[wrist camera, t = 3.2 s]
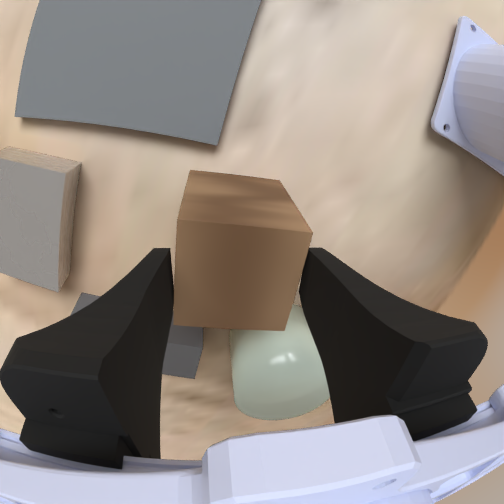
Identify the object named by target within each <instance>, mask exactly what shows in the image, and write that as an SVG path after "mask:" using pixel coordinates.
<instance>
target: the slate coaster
mask: <svg viewBox="0 0 504 504" xmlns="http://www.w3.org/2000/svg"><path fill="white" fill-rule="evenodd" d="M260 2H261V0H40V1H39V4H38V7H37V10H36V13H35V17H34V20H33V24H32V27H31V31H30V35H29V39H28V43H27V47H26V51H25V56H24V60H23V65H22V70H21V76H20V82H19V88H18V94H17V102H16V110H15V117H27V118H41V119H53V120H64V121H73V122H82V123H91V124H98V125H106V126H113V127H120V128H127V129H133V130H139V131H145V132H151V133H157V134H162V135H168V136H173V137H178V138H184V139H189V140H193V141H198V142H203V143H208V144H212V145H218V141H219V137H220V133H221V130H222V126H223V122H224V119H225V115H226V111H227V108H228V104H229V101H230V97H231V94H232V90H233V87H234V84H235V80H236V77H237V73H238V70H239V67H240V64H241V60H242V57H243V54H244V51H245V47H246V44H247V41H248V38H249V35H250V32H251V29H252V26H253V23H254V20H255V17H256V14H257V11H258V8H259V5H260Z"/></svg>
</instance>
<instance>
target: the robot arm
mask: <svg viewBox="0 0 504 504" xmlns="http://www.w3.org/2000/svg"><path fill="white" fill-rule="evenodd" d="M470 26H471V28H472V30H471V28H470ZM444 125H446V129H445V130H444V129H443V127H444ZM431 127H432V129H433V130H434V131H435V132H437V133H439V134H440V135H442V136H444V137H445V138H447V139H449V140H450V141H452V142H454V143H455V144H457V145H459V146H460V147H462V148H463V149H465V150H466V151H468V152H469V153H471V154H473V155H474V156H476V157H477V158H479V159H480V160H481V161H483V162H484V163H486V164H487V165H489V166H490V167H492V168H493V169H494V170H496V171H497V172H499V173H500V174H501V175H503V176H504V45H499V44H498V43H496V42H495V41H494V40H493V39H492V38H491V37H490V36H489V35H488V34H487V33H486V32H485V31H483V30H482V29H481V28H480V27H479V26H478V25H477V24H475V23H474V22H473V21H472V20H471V19H469V18H468V17H466V16H462V17H459V19H458V24H457V28H456V33H455V37H454V42H453V46H452V50H451V54H450V58H449V62H448V66H447V69H446V73H445V77H444V80H443V84H442V87H441V90H440V94H439V97H438V100H437V104H436V107H435V110H434V113H433V116H432V119H431ZM299 295H300V300H301V304H302V308H303V313H304V316H305V319H306V321H307V324H308V327H309V329H310V332H311V334H312V337H313V340H314V342H315V345H316V348H317V350H318V353H319V356H320V358H321V361H322V365H323V368H324V372H325V376H326V380H327V385H328V389H329V394H330V399H331V404H332V409H333V415H334V422H335V424H329V425H323V426H316V427H309V428H301V429H293V430H283V431H273V432H260V433H253V434H247V435H241V436H234V437H230V438H227V439H225V440H223V441H220V442H218V443H216V444H213V445H212V446H210V447H209V448H208V449H207V450H206V452H205V454H204V456H203V458H202V460H167V459H161V457H160V399H161V380H162V369H163V362H164V357H165V352H166V347H167V342H168V337H169V332H170V327H171V322H172V317H173V305H174V285H173V275H172V264H171V253H170V248H154V249H153V250H152V251H151V252H150V253H149V254H148V255H147V256H146V257H145V258H144V259H143V260H142V261H141V262H140V263H139V264H138V265H137V266H136V267H135V268H134V269H133V270H131V271H130V272H129V273H128V274H127V275H126V276H125V277H124V278H123V279H122V280H120V281H119V282H118V283H117V284H116V285H115V286H114V287H113V288H111V289H110V290H109V291H108V292H106V293H105V294H104V295H102V296H101V297H99V298H98V299H97V300H95V301H94V302H92V303H91V304H89V305H88V306H86V307H84V308H83V309H81V310H79V311H77V312H76V313H74V314H72V315H71V316H69V317H67V318H65V319H63V320H61V321H59V322H57V323H55V324H52V325H50V326H48V327H46V328H43V329H41V330H38V331H35V332H33V333H30V334H27V335H24V336H21V337H18V338H17V339H16V340H15V342H14V344H13V346H12V348H11V350H10V352H9V354H8V356H7V358H6V360H5V362H4V364H3V366H2V368H1V370H0V381H1V384H2V387H3V388H4V390H5V392H6V393H7V395H8V396H9V398H10V399H11V400H12V401H13V403H14V404H15V405H16V407H17V408H18V409H19V410H20V412H21V413H22V414H23V415H24V417H25V418H26V419H25V422H24V425H23V429H22V432H21V435H20V434H17V433H14V432H10V431H7V430H4V429H1V428H0V504H433V503H435V502H437V501H439V500H441V499H443V498H445V497H447V496H449V495H451V494H453V493H455V492H456V491H458V490H460V489H462V488H464V487H465V486H467V485H469V484H471V483H472V482H474V481H476V480H477V479H479V478H481V477H482V476H484V475H486V474H487V473H489V472H490V471H492V470H493V469H495V468H497V467H498V466H500V465H501V464H503V463H504V384H503V385H501V386H500V387H499V388H498V389H497V390H496V391H495V392H494V393H493V394H492V395H491V397H490V399H489V400H488V401H486V402H484V403H481V404H479V405H477V406H475V404H474V403H473V401H472V400H471V397H470V396H469V394H468V393H469V392H470V391H471V390H472V387H471V385H470V384H469V382H468V379H469V378H470V377H471V376H472V374H473V373H474V371H475V370H476V368H477V367H478V365H479V364H480V362H481V361H482V359H483V357H484V355H485V353H486V350H487V346H488V345H487V344H488V342H487V338H486V337H485V335H484V334H483V333H482V331H481V330H480V329H479V328H478V326H477V325H476V324H475V323H474V322H470V321H466V320H461V319H457V318H453V317H448V316H446V315H442V314H439V313H436V312H433V311H430V310H428V309H425V308H422V307H420V306H417V305H415V304H413V303H410V302H408V301H406V300H404V299H401V298H399V297H397V296H396V295H394V294H392V293H390V292H388V291H386V290H384V289H383V288H381V287H379V286H377V285H376V284H374V283H373V282H371V281H369V280H368V279H366V278H365V277H363V276H362V275H360V274H359V273H357V272H356V271H355V270H353V269H352V268H350V267H349V266H347V265H346V264H345V263H343V262H342V261H341V260H339V259H338V258H336V257H335V256H334V255H332V254H331V253H329V252H328V251H326V250H325V249H323V248H309V249H308V253H307V256H306V260H305V264H304V267H303V271H302V276H301V282H300V288H299Z"/></svg>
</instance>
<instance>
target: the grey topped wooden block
mask: <svg viewBox="0 0 504 504" xmlns="http://www.w3.org/2000/svg"><path fill="white" fill-rule="evenodd" d="M80 168H81V162H77V161H73V160H69V159H65V158H60V157H56V156H51V155H47V154H43V153H38V152H33V151H29V150H24V149H20V148H15V147H10V146H9V147H6V148H4V149H2V150H0V273H3V274H6V275H9V276H11V277H14V278H17V279H20V280H23V281H26V282H28V283H31V284H34V285H37V286H40V287H43V288H46V289H49V290H53V291H56V292H59V290H60V289H61V287H62V285H63V284H64V282H65V280H66V279H67V277H68V275H69V274H70V261H71V244H72V232H73V221H74V211H75V203H76V195H77V188H78V181H79V174H80Z"/></svg>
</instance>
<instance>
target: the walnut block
mask: <svg viewBox="0 0 504 504" xmlns="http://www.w3.org/2000/svg"><path fill="white" fill-rule="evenodd" d="M312 235H313V232H312V230H311V229H310V227H309V226H308V224H307V222H306V221H305V219H304V218H303V216H302V214H301V213H300V211H299V210H298V208H297V207H296V205H295V204H294V202H293V200H292V199H291V197H290V196H289V194H288V193H287V191H286V190H285V188H284V187H283V185H282V183H281V182H280V180H272V179H265V178H257V177H249V176H241V175H232V174H224V173H214V172H204V171H194V170H190V173H189V176H188V180H187V184H186V187H185V191H184V195H183V199H182V203H181V207H180V211H179V215H178V219H177V235H176V253H175V276H174V314H173V325H179V326H192V327H205V328H221V329H240V330H265V331H285V328H286V325H287V321H288V318H289V315H290V312H291V308H292V305H293V302H294V298H295V295H296V291H297V288H298V285H299V281H300V278H301V274H302V271H303V267H304V264H305V260H306V256H307V253H308V249H309V246H310V242H311V238H312Z"/></svg>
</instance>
